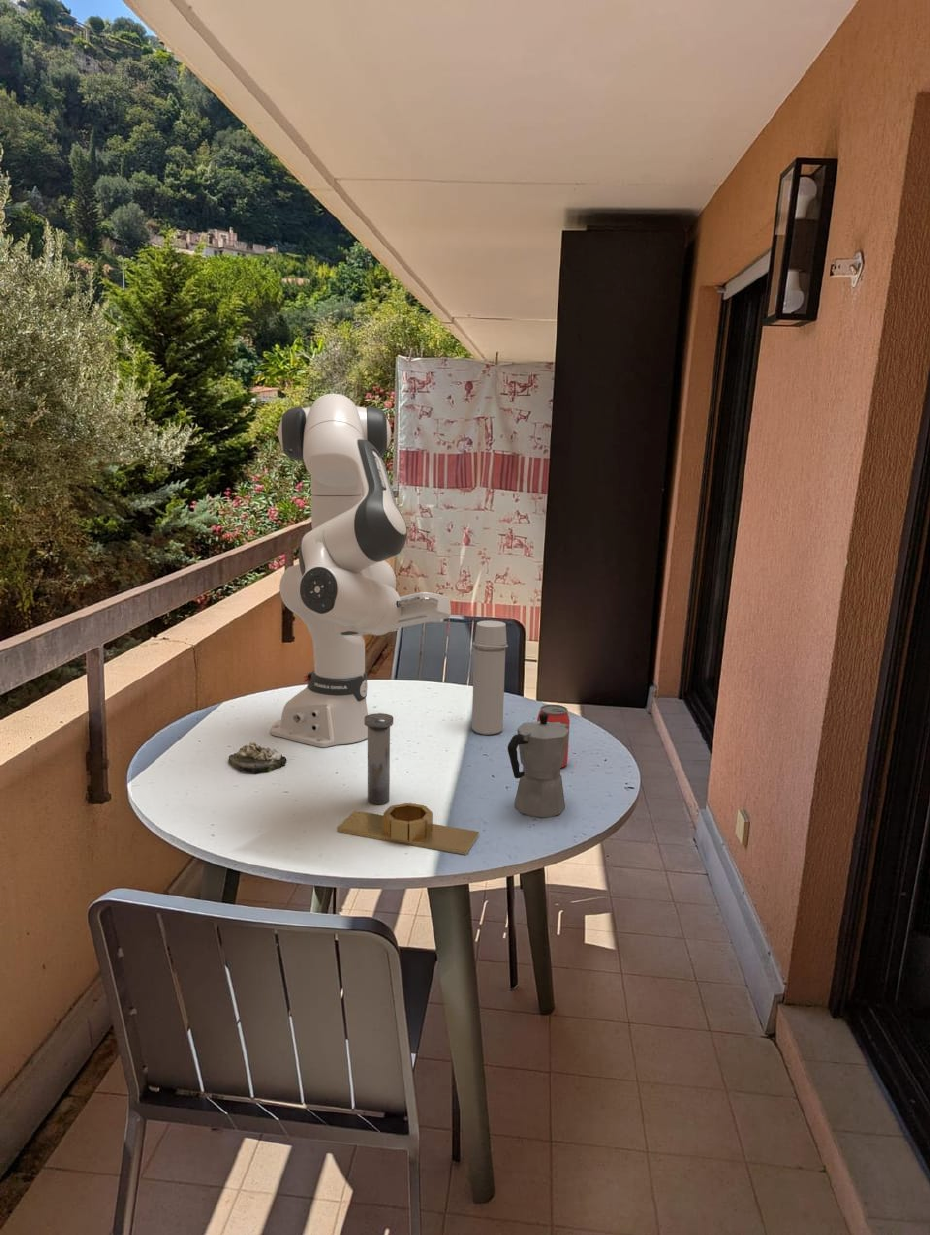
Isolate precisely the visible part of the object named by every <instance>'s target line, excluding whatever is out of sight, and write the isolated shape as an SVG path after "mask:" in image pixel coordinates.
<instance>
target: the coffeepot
mask: <svg viewBox="0 0 930 1235" xmlns="http://www.w3.org/2000/svg"><path fill="white" fill-rule="evenodd" d="M539 716H540V721H537V720H536V721H531V722H530V721H529V722H528V721H527V722H523V723H522V724H520V726H518V727H517V728H516V732H517V734H514V735H513V736H512V737H511V739H510V741H509V743H508V745H507V752H508V757H509V760H510V761H509V762H510V764H511V768H512V772H513V777H514V778H515V779H519V782H518V786H517V789H516V795H515V799H514V800H515V801H514V807H515V808H516V809H517V811H518V812H520V813H521V814H523V815H525V816H529V817H533V818H540V819H541V818H542V819H544V818H552V817H553V818H554V817H556V816H559V815H560V814H561V813H562V812H563V810H564V809H565V807H566V803H565V795H564V788H563V780H562V778H563V777H562V775H561V773H560V772H561V768H560V767H561V766H562V764H563V760H564V755H565V751H566V746H567V741H568V736H569V737H570V729H569V730H568V729H567V728H566V727H567V726H568V725H566V724H565V723H563V722H561V723H560V722H552V723H551V722H547V720H548V716H549V715H548V714H545V713H543V714H540V715H539ZM568 742H569V741H568ZM517 749H519V756H518V750H517ZM519 757H520V758H519ZM519 760H520V762H519ZM520 763H521V765H523V766H522V771H520Z"/></svg>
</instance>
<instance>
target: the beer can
mask: <svg viewBox="0 0 930 1235" xmlns="http://www.w3.org/2000/svg"><path fill="white" fill-rule="evenodd" d="M539 710H540V711H539V712H538V715H537V718H536V721H540V716H539V715H540V714H543V713H545V714H548V715H549V716H548V720H547V722H551V723H552V722H560V723H561V722H563V723H565V724H566V725H568V726H567V727H566V728H567V729H568V730H569V731H570V723H571V722H570V716H569V715H570V714H569V713H568V711H569V710H568V708H567V707H566V706H563V705H560V704H545V705H542V706H540V708H539ZM569 739H570V735H569V736H568V741H567V746H566V751H565V755H564V760H563V764H562V766H561V767H560V769H562V768H564V767H566V766H567V764H568V757H569Z"/></svg>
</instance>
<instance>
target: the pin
mask: <svg viewBox="0 0 930 1235" xmlns="http://www.w3.org/2000/svg"><path fill="white" fill-rule="evenodd" d="M364 724H365V725H366V726H368V738H367V803H369V804H371V805H373V806H383V805H386V804H388V803H389V802H390V799H391V798H390V795H391V794H390V793H391V792H390V790H391V788H390V786H391V785H390V784H391V783H390V782H391V780H390V779H391V776H390V775H391V774H390V773H391V762H390V761H391V727H392V726H393V725H394V716H393V715H391V714H388V713H384V712H378V713H377V712H376V713H375V712H374V713H370V714H369V713H368V715H367V716H365V718H364Z"/></svg>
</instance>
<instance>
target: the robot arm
mask: <svg viewBox="0 0 930 1235" xmlns="http://www.w3.org/2000/svg"><path fill="white" fill-rule="evenodd" d="M277 437H278V438H277V439H278V441H279V446H280V447H281V448H282V451H283V454H284V455H285V456H286V457H287V458H288V459H291V460H293V461H299V462H304V465H305V469H306V470H307V471H308V473H309V474H310V520H311V524H310V525H311V526H310V527H311V530H310V531H308V532H306V533H305V534H304V535H303V536H302V538H301V541H300V544H299V549H298V550H299V551H298V564H296V565H293V566H292V565H291V566H289V567H287V568H286V569H285V570H284V572H283V573H282V575H281V578H280V580H279V584H278V587H279V588H278V590H279V595H280V599H281V601H282V603H283V604H284V605H285V607H286V608H287V609H288V610H289V611H291V612H292V613H294V614H295V615H296V616H298V617H299V618H300V619H301V621H303V623H304V624H305V625H306V627H307V629H308V631H309V633H310V637H311V640H312V641H311V642H312V648H313V662H314V664H313V670H312V671H311V672H308V673H307V675H305V676H304V677H303V682H304V683H306V682H307V685H306V686H307V687H305V688H304V689H303V690H300V692H298V693H297V694H296V695H294V696H292V697H291V698H290V699H289V700H288V701H287V702H285V703H284V706H283V709H282V712H281V718H280V719H279V720H278V721H276V722H275V723H274V724H272V726H271V728H270V735H272V736H273V737H274V736H276V737H278V738H279V737H280V738H282V739H286V740H291V741H295V742H298V743H303V744H307V745H311V746H315V747H318V748H327V747H332V746H335V745H336V746H337V745H345V744H346V745H347V744H354V743H356V742H357V743H358V742H361V741H364V740H366V739H368V726H366V725H365V724H364V718H365V716H367V715H369V712H368V703H367V697H368V689H369V688H368V686H369V685H368V671H367V670H366V641H365V637H363V636H365V635H366V636H367V635H373V636H382V635H386V634H388V633H390V632H391V633H392V632H396V631H397V632H398V631H399V630H400V628H405V627H411V626H416V625H420V624H426V623H430V622H432V623H435V624H436V623H442V622H444V620H446V619H449V618H450V617H451V615H452V607H451V606H452V605H451V599H450V598H449V597H448V596H446V595H442V594H439V593H435V592H430V591H429V592H428V591H423V592H416V593H410V594H406V595H403V596H400V594H399V593H398V591H397V583H398V582H397V576H396V573H395V570H394V569H393V567H392V566H391V564H390V563H389V562H387V561H386V560H388V559H390V558H393V557H395V556H398V555H399V554H401V552H402V551H403V549H404V547H405V543H406V541H407V539H408V538H407V537H408V528H407V525H406V522H405V520H404V517H403V514H402V513H401V510H400V508H399V507H398V504H397V501H396V497H395V494H394V491H393V487H392V484H391V481H390V477H389V474H388V472H387V468H386V465H385V463H384V460H383V457H384V456H385V455H386V454H387V450H388V449H389V446H390V443H391V439H392V429H391V424H390V421H389V420H388V418H387V414H386V413H385V412H384V410H383V409H381V408H378V407H374V406H368V405H367V406H366V407H364V406H356V404H355V403H354V402H353V401H352V400H351V399H350V398H349V397H347V396H346V395H343V394H339V393H327V394H323V395H322V396H321V395H320V396H319V397H317V399H315V400H314V401H313V402H312V404H311V406H309V407H308V406H307V407H302V406H300V405H299V406H295V407H292V408H288V409H287V410H285V411H284V412H283V414H282V415H281V419H280V420H279V424H278V430H277Z"/></svg>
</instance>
